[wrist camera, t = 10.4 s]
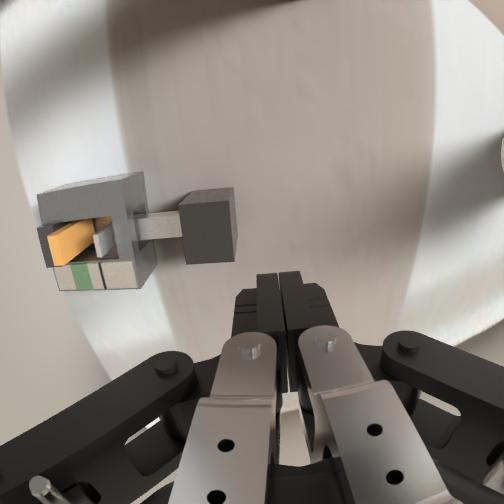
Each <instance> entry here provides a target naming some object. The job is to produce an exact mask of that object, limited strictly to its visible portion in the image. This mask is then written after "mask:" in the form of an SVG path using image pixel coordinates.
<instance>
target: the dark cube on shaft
mask: <svg viewBox="0 0 504 504" xmlns="http://www.w3.org/2000/svg"><path fill="white" fill-rule="evenodd" d="M178 209H179V211H168V212H158V213H148V214H139V215H133V217H134V223H135V229H136V235H137V240H148V239H160V238H173V237H182V239H183V246H184V253H185V260H186V265H188V264H204V263H220V262H235V253H236V245H237V226H236V214H235V202H234V190H233V188H221V189H209V190H198V191H192V192H191V193H190V194H189V195H188V196H187V197H186V198H185V199H184V200H183V201H182V202H181V203H179V204H178ZM93 239H94V244H95V248H96V253H97V257H103V256H104V255H105V254H107V253H108V252H109V251H110V250H111V249H112V248H113V247H114V246H115V245H116V240H115V234H114V229H113V224H112V222H110V223H109V224H107V225H106V226H105V227H103V228H102V229H100V230H99V231H97V232H96V233H95V234H93Z"/></svg>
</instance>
